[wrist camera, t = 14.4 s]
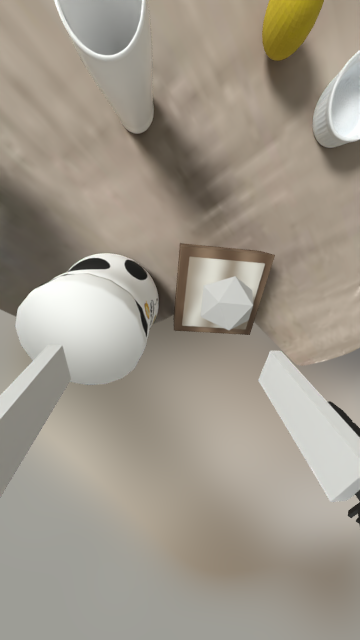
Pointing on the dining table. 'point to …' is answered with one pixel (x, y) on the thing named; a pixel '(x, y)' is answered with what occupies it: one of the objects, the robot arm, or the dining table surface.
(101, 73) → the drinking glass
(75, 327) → the milk container
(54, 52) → the dining table surface
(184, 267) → the plinth
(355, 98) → the ramekin
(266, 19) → the lemon
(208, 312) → the die
